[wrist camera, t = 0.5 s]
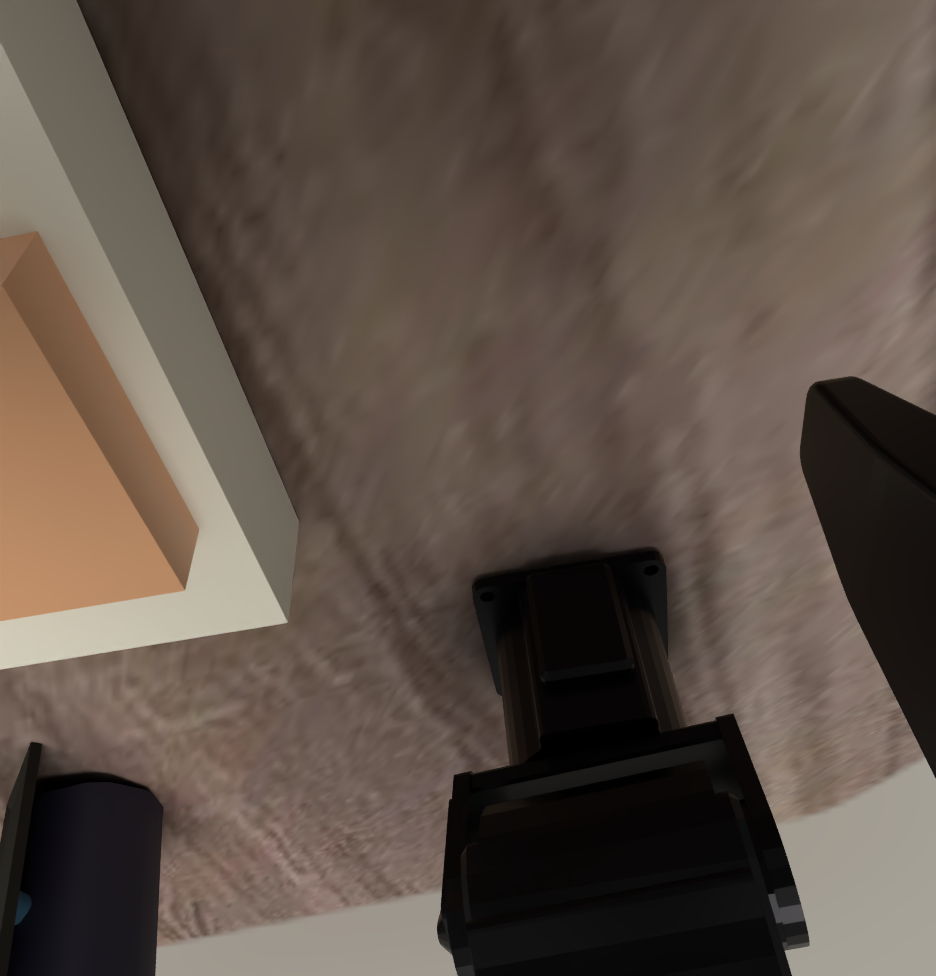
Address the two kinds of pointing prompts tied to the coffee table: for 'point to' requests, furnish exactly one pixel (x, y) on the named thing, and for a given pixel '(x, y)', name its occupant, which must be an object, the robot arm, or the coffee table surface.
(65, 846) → the speaker
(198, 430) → the cream flat block
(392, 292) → the coffee table surface
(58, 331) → the tile
